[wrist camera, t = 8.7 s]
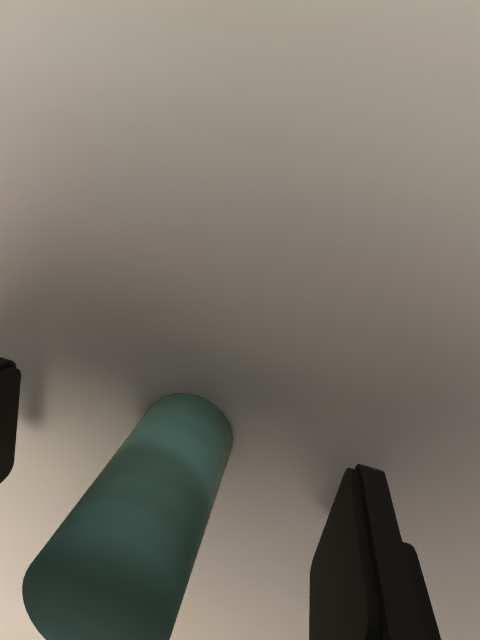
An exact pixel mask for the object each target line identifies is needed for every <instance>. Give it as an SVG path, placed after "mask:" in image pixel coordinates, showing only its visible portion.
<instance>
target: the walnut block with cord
mask: <svg viewBox="0 0 480 640" xmlns="http://www.w3.org/2000/svg"><path fill="white" fill-rule="evenodd" d="M231 448H232V432H231V429H230V426H229V423H228V421H227V420H226V418H225V416H224V415H223V414H222V412H221V411H220V410H219V409H218V408H217V407H216V406H214V405H213V404H212V403H210V402H209V401H207V400H205V399H203V398H201V397H198V396H194V395H190V394H174V395H170V396H167V397H164V398H162V399H160V400H159V401H157V402H156V403H155V404H154V405H153V406H152V407H151V408H150V409H149V410H148V412H147V413H146V414H145V416H144V417H143V418H142V420H141V421H140V422H139V423H138V425H137V426H136V427H135V429H134V430H133V431H132V433H131V434H130V435H129V437H128V438H127V439H126V440H125V442H124V443H123V444H122V446H121V447H120V448H119V450H118V451H117V452H116V454H115V455H114V456H113V457H112V459H111V460H110V461H109V463H108V464H107V465H106V467H105V468H104V469H103V470H102V472H101V473H100V474H99V476H98V477H97V478H96V480H95V481H94V482H93V484H92V485H91V486H90V487H89V489H88V490H87V491H86V493H85V494H84V495H83V497H82V498H81V499H80V501H79V502H78V503H77V504H76V506H75V507H74V508H73V510H72V511H71V512H70V514H69V515H68V516H67V517H66V519H65V520H64V521H63V523H62V524H61V525H60V527H59V528H58V529H57V531H56V532H55V533H54V534H53V536H52V537H51V538H50V540H49V541H48V542H47V544H46V545H45V546H44V548H43V549H42V550H41V551H40V553H39V554H38V555H37V557H36V558H35V559H34V561H33V562H32V563H31V564H30V566H29V568H28V569H27V571H26V574H25V576H24V580H23V586H22V594H23V600H24V604H25V608H26V611H27V613H28V615H29V617H30V619H31V621H32V622H33V624H34V626H35V627H36V628H37V630H38V631H39V632H40V634H41V635H42V636H43V637H44V638H45V639H46V640H169V639H170V636H171V633H172V630H173V627H174V624H175V621H176V618H177V615H178V611H179V608H180V605H181V602H182V599H183V596H184V593H185V590H186V587H187V584H188V581H189V578H190V575H191V572H192V568H193V565H194V562H195V559H196V556H197V553H198V550H199V547H200V544H201V541H202V538H203V535H204V532H205V529H206V525H207V522H208V519H209V516H210V513H211V510H212V507H213V504H214V501H215V498H216V495H217V492H218V489H219V486H220V482H221V479H222V476H223V473H224V470H225V467H226V464H227V461H228V458H229V455H230V452H231Z"/></svg>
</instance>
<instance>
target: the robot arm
mask: <svg viewBox="0 0 480 640" xmlns="http://www.w3.org/2000/svg"><path fill="white" fill-rule="evenodd" d="M20 382H21V372H20V370H19V369H17V368H16V364H15V362H13V361H11V360H8V359H5V358H1V357H0V483H1V482H2V481H3V480H4V479H5V478H6V477H7V476H8V475H9V473H10V472H11V470H12V467H13V464H14V455H15V443H16V431H17V419H18V406H19V394H20ZM309 640H441V637H440V634H439V630H438V627H437V623H436V620H435V616H434V613H433V609H432V606H431V602H430V599H429V595H428V592H427V588H426V585H425V581H424V578H423V574H422V570H421V567H420V563H419V560H418V556H417V553H416V551H415V549H414V547H413V546H412V545H411V544H408V543H405V542H402V539H401V535H400V531H399V527H398V523H397V519H396V515H395V511H394V507H393V503H392V499H391V495H390V491H389V488H388V484H387V480H386V476H385V473H384V472H383V471H381V470H378V469H375V468H371V467H368V466H364V465H361V464H358V465H357V466H356V467H355V469H351V468H347V469H346V471H345V473H344V475H343V478H342V481H341V484H340V486H339V489H338V492H337V495H336V497H335V500H334V503H333V506H332V508H331V511H330V514H329V516H328V519H327V522H326V525H325V527H324V530H323V533H322V536H321V538H320V541H319V544H318V547H317V549H316V552H315V555H314V557H313V561H312V565H311V571H310V613H309Z"/></svg>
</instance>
